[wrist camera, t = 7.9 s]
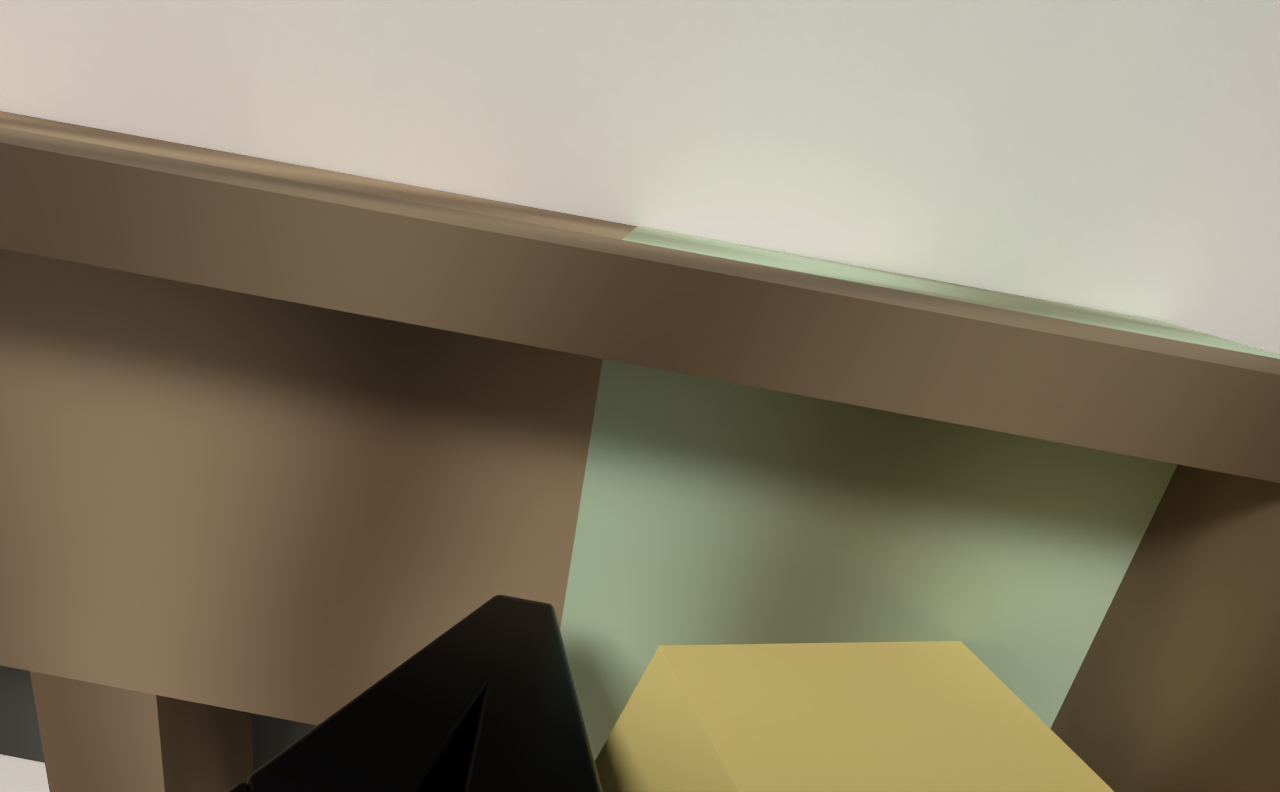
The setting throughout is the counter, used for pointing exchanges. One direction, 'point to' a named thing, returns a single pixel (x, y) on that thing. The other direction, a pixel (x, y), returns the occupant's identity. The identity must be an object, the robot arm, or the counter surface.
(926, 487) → the deck
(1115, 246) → the counter surface
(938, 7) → the counter surface
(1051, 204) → the counter surface
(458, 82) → the counter surface
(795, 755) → the block
